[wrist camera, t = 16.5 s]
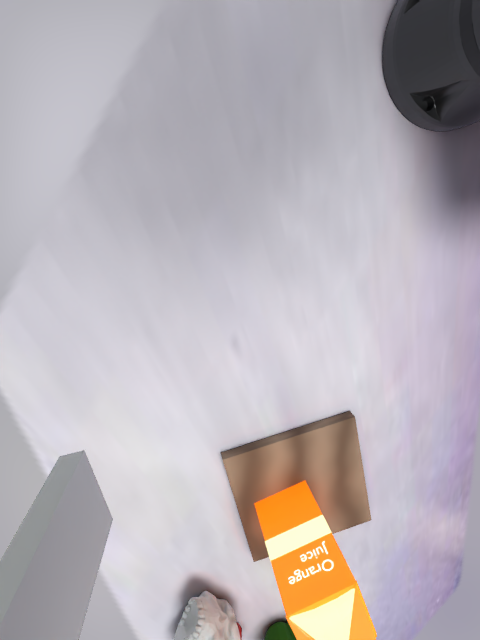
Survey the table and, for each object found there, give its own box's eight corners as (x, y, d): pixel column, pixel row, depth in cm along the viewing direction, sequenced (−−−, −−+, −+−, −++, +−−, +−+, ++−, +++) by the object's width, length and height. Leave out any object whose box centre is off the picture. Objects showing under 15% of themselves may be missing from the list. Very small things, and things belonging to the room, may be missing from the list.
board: (349, 411, 50) (354, 416, 48) (366, 512, 55) (371, 520, 54) (221, 452, 48) (222, 459, 46) (251, 552, 53) (254, 561, 52)
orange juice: (305, 479, 50) (389, 644, 31) (323, 525, 52) (410, 701, 34) (252, 503, 49) (304, 686, 30) (273, 548, 52) (332, 740, 33)
